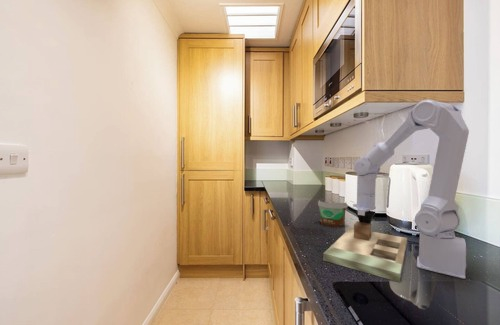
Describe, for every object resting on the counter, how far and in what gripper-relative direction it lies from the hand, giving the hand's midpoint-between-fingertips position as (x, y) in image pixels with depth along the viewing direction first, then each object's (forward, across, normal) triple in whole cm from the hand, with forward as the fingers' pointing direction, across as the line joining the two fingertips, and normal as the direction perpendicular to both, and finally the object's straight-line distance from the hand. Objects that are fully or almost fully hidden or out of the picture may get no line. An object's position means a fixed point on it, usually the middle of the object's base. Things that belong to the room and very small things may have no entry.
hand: (364, 231), depth 81 cm
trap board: (+3, +10, +3) cm, 11 cm away
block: (+1, +4, 0) cm, 4 cm away
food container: (+3, -10, -15) cm, 18 cm away
